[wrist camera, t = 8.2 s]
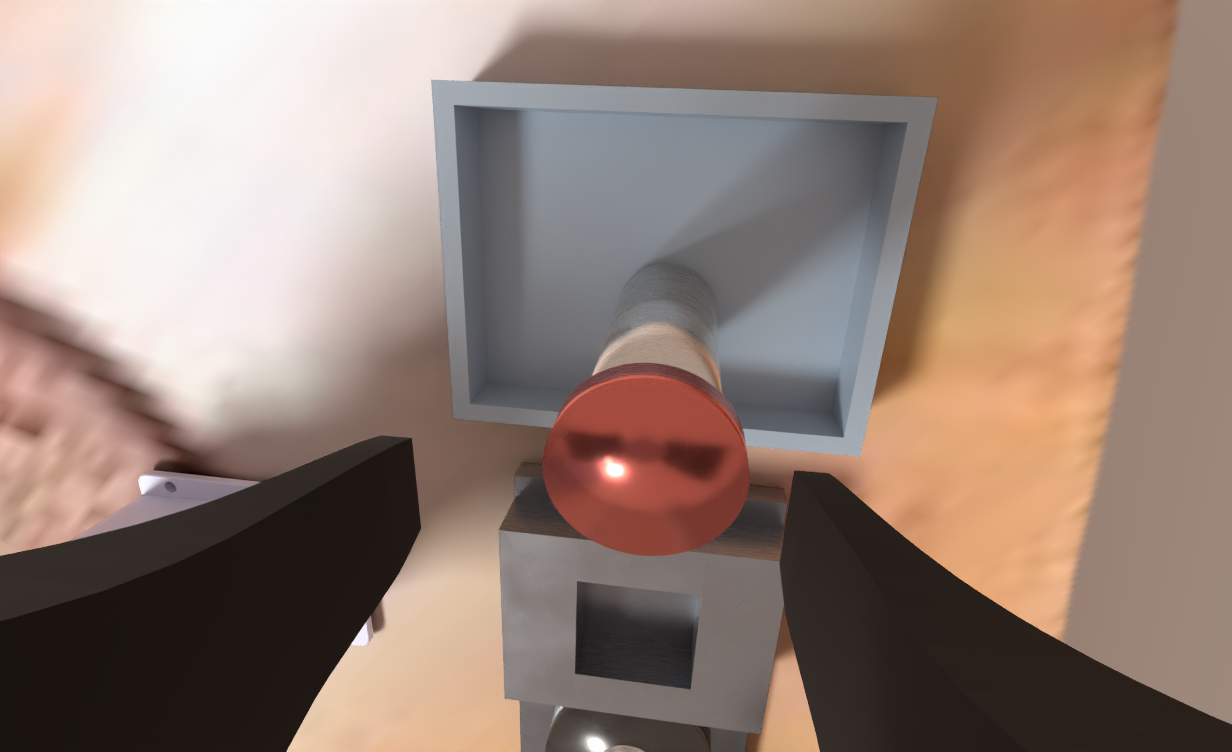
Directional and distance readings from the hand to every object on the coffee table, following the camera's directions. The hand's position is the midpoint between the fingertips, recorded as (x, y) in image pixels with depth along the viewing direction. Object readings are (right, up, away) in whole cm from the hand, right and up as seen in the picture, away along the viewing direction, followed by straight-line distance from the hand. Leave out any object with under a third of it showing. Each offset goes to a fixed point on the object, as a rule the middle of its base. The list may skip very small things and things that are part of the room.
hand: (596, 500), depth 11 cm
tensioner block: (+1, -9, +14) cm, 17 cm away
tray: (+2, +6, +9) cm, 11 cm away
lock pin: (+2, +4, +8) cm, 10 cm away
